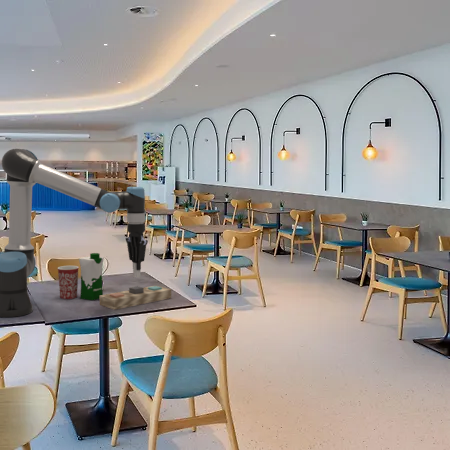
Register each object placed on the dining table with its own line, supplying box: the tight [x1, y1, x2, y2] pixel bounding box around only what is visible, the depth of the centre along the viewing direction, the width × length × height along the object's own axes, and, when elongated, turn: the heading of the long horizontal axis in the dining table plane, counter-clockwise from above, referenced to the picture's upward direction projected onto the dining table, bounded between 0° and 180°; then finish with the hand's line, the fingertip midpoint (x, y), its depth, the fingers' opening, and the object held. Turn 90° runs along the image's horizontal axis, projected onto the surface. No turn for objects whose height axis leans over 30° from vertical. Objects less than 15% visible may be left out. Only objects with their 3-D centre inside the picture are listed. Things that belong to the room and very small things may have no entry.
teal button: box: [147, 285, 163, 291], centre depth 247 cm, size 4×4×3 cm
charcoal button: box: [128, 285, 145, 294], centre depth 240 cm, size 4×4×3 cm
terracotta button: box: [109, 292, 124, 298], centre depth 233 cm, size 4×4×3 cm
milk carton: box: [78, 252, 105, 301], centre depth 244 cm, size 9×9×20 cm
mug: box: [57, 265, 80, 300], centre depth 247 cm, size 13×9×14 cm
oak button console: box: [99, 285, 172, 311], centre depth 240 cm, size 30×11×4 cm, turn 135°
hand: (136, 277), depth 239 cm, fingers closed
